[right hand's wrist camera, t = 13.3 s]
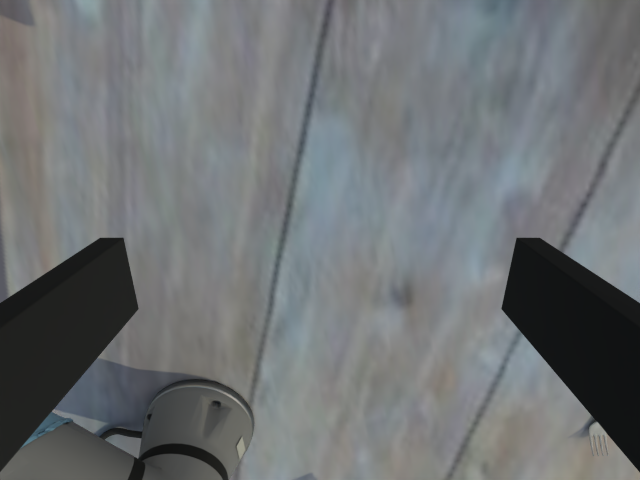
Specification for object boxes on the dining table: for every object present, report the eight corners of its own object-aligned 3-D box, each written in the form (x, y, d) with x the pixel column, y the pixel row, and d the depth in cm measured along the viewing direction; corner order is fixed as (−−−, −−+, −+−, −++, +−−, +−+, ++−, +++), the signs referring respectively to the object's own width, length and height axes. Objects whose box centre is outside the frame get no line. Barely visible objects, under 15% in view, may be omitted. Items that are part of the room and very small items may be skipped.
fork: (630, 358, 49) (642, 369, 48) (600, 444, 55) (609, 456, 53) (610, 359, 49) (621, 369, 48) (582, 444, 55) (592, 456, 53)
